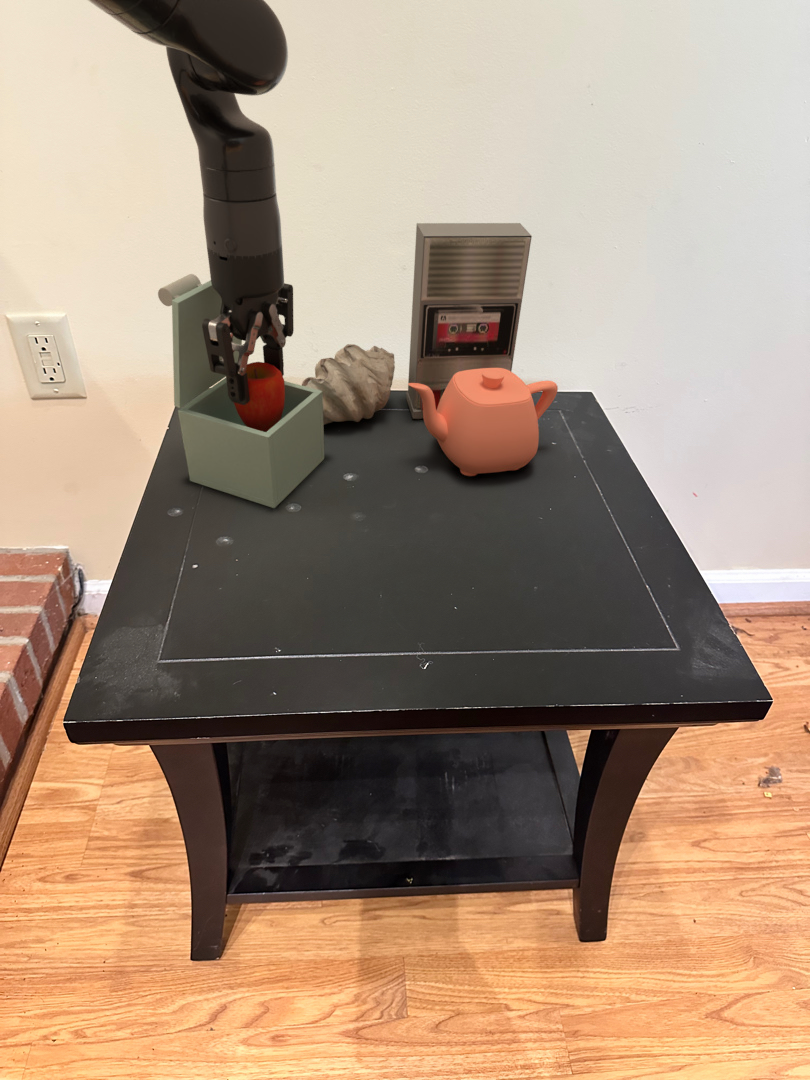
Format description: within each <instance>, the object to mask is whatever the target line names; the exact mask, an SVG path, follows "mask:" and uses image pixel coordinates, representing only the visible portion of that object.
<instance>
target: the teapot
mask: <svg viewBox="0 0 810 1080" xmlns="http://www.w3.org/2000/svg"><path fill="white" fill-rule="evenodd" d="M408 385H409V386H410V387H412V388H414V389H415V390H416V391H418V393H419V394H420V395H421V398H422V403H423V418H422V419H423V423H424V425H425V428H426V430H427V431H428V433H429V434H430V435H431V436H432V437H433V438H435V439H436V441H437V443H438V445H439V447H440V448H441V450H442V451H443V453H444V455H445V456H446V457H447V459H448V460H449V461H450V462H451V463H453V465H455V466H456V467H457V468H459V471H460V473H461V474H462V475H464V476H467V477H475V476H477V475H478V474H491V473H502V472H507V471H508V472H509V471H517V470H520V469H521V468H523V467H525V466H526V465H528V464H529V463H530V462H531V460H533V458H535V456H536V455H537V452H538V448H539V440H540V439H539V438H540V430H539V419H541V417H542V416H543V415H544V413H545V412H546V411H547V410H548V409H549V407H550V406H551V405H552V403H553V402H554V400H555V398H556V396H557V394H558V390H559V387H558V385H557V383H556V382H555V381H553V380H540V381H536V382H532V383H528V384H526V383H525V382H524V381H523V379H521V377H519V376H518V375H517V374H516V373H514V372H512V371H509V370H507V369H504V368H480V369H471V370H464V371H460V372H457V373H456V374H454V375H453V377H452V378H451V380H450V382H449V383H448V385H447V387H446V389H445V391H444V393H443V395H442V397H441V399H440V402H439V404H438V408H437V411H436V406H435V398H434V394H433V392H432V390H431V389H430V388H429V387H428V386H426V385H423V384H419V383H409V384H408V383H407V386H408ZM540 392H541V396H540V397H539V399H538V400H537V402H536V404H535V402H534V399H533V396H532V395H533V394H536V393H540Z"/></svg>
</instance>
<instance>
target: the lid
mask: <svg viewBox="0 0 810 1080" xmlns="http://www.w3.org/2000/svg"><path fill="white" fill-rule="evenodd" d="M157 296H158V297H157V298H158V300H159V301H160V302H161V304H162V305H163V306H166V307H171V312H172V313H171V316H172V317H171V319H172V320H171V321H172V323H171V325H172V365H173V366H172V367H173V368H172V369H173V370H172V371H173V405H174V407H176V408H178V409H181V408H183V407H184V406H185V405H187V404H188V403H190V402H191V401H193V400H194V399H196V398H197V397H198V396H200V395H201V394H203V393H204V392H206V391H207V390H209V389H210V388H211V387H213V386H214V385H216V384H217V383H219V382H220V381H222V380H223V379H224V378H226V375H223V374H219V373H214V372H212V371H211V370H210V365H209V360H208V355H207V349H206V344H205V339H204V334H203V329H202V323H203V321H204V319H210V320H214V319H216V318H217V317H219V316H220V311H221V305H222V299H221V296H220V295H219V294H218V292H217V291H216V290H215V289H214V288H213V286H212V284H211V279H209V281H206V282H204V283H203V284H202V282H201V280H200V278H199V277H198V276H197V275H195V274H194V273H189V274H186V275H185V276H183V277H181V278H178V279H177V280H174V281H172V282H171V283H168V284H167V285H165V286H163V287H160V288H159V289H158V290H157ZM233 342H234V343H235V344H239V345H243V340H240V339H237V338H235V337H234V336H233ZM233 354H234V360H235V362H236V363H237V362H238V357H239V352H238V351H234V353H233ZM219 360H220V361H222V357H221V356H219Z"/></svg>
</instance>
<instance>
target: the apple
mask: <svg viewBox="0 0 810 1080" xmlns="http://www.w3.org/2000/svg"><path fill="white" fill-rule="evenodd" d="M245 373H247V377H248V387H249V397H250V401H249V402H248V403H247V404H246V405H241V404H238V403H234V404H235V407H236V410H237V412H238V414H239V416H240V418H241V419H242V421H243V422H244V424H245V425H246V426H247V427H249V428H253V429H256V430H260V431H263V432H267V431H268V430H269V429H271V428H272V427H273V426H274V425H275V424H277V423H278V422H279V420H280V418H281V416H282V413H283V409H284V401H285V387H284V381H285V378H284V375H283V376H282V373H281V371H280V370H278V369H277V368H276V367H275V366H274V365H271V364H268V363H264V361H263V362H262V361H255V362H250V363H247V368H246V372H245Z"/></svg>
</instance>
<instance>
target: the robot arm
mask: <svg viewBox="0 0 810 1080" xmlns="http://www.w3.org/2000/svg"><path fill="white" fill-rule="evenodd" d="M87 1H88V2H89V3H91V4H92V5H94V6H95V7H96V8H98V9H99V10H101V11H102V12H104V13H106V14H107V15H108V16H109V17H111V18H113V20H115V21H117V22H118V23H120V24H121V25H122V26H124V27H125V28H127V29H128V30H130V31H131V32H132V33H134V34H135V35H137V36H138V37H141V38H142V39H144V40H146V41H149V43H153V44H155V45H158V46H162V47H165V49H166V50H165V51H166V57H167V62H168V66H169V70H170V73H171V76H172V79H173V82H174V85H175V88H176V91H177V94H178V96H179V99H180V102H181V105H182V108H183V110H184V114H185V117H186V119H187V122H188V125H189V128H190V131H191V133H192V134H193V138H194V140H195V143H196V146H197V151H198V152H197V153H198V162H199V171H200V179H201V187H202V197H203V199H202V201H203V206H202V207H203V209H202V211H203V212H202V213H203V215H202V217H203V226H204V234H205V235H204V236H205V242H206V250H207V260H208V268H209V275H210V280H211V284H212V286H213V288H214V289H215V290H216V291H217V292H218V294H219V295H220V296H221V299H222V305H221V311H220V316H219V317H217V318H216V319H214V320H210V319H204V321H203V323H202V329H203V334H204V339H205V344H206V349H207V355H208V360H209V365H210V370H211V371H212V372H214V373H219V374H223V375H226V377H225V378H226V380H227V389H228V396H229V398H230V400H231V401H232V402H234V403H238V404H241V405H246V404H247V403H248V402H249V401H250V397H249V387H248V377H247V373H245V372H246V368H247V364H249V363H248V362H249V357H250V356H251V355H253V354H254V352H255V348H256V343H257V340H258V339H259V338H260V340H261V341H262V343H263V344H264V345H262V355H263V363H268V364H271V365H274V366H275V367H276V368H277V369H278V370H280V371H281V373H282V376H283V377H284V376H285V372H284V370H285V369H284V367H285V365H284V352H283V351H284V349H283V348H284V347H285V346H286V344H287V343H286V342H287V337H289V338H290V337H292V336H293V334H294V329H295V328H294V286H293V285H292V284H290V283H285V274H284V273H285V272H284V271H285V270H284V256H283V239H282V238H283V237H282V220H281V213H280V209H279V203H278V197H277V182H276V181H277V179H276V167H275V166H276V164H275V152H274V143H273V138H272V136H271V134H270V132H269V131H268V129H267V128H265V127H264V126H263V125H261V124H259V123H257V122H255V121H254V120H252V119H250V118H249V117H247V116H246V115H245V114H244V113H243V111H242V109H241V108H240V104H239V102H238V99H237V96H236V95H242V96H250V97H256V96H257V97H258V96H262V95H265V94H268V93H270V92H272V91H273V90H274V89H275V88H276V87H277V86H278V85H279V84H280V83H281V82H282V80H283V78H284V76H285V73H286V70H287V66H288V61H289V47H288V41H287V37H286V34H285V31H284V29H283V26H282V24H281V22H280V20H279V17H278V16H277V15H276V13H275V11H274V10H273V8H272V7H270V4H269V3H267V2H266V1H265V0H87ZM280 316H282V317H283V318H284V323H282V321H281V319H280ZM233 336H234V337H235V338H237V339H240V340H242V341H243V342H244V343H242V345H239V344H235V343H234V342H233ZM234 351H238V352H239V357H238V362H237V363H236V362H235V360H234V354H233V353H234ZM219 356H221V357H222V361H220V360H219Z"/></svg>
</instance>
